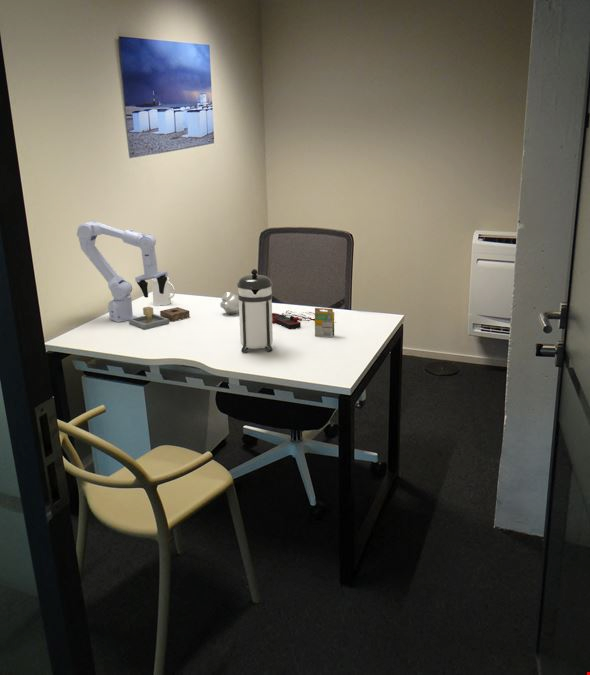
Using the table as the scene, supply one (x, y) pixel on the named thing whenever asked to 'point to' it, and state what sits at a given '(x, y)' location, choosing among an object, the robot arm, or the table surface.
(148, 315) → the pin
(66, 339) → the table surface
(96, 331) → the table surface
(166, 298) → the mug
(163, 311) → the block
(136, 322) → the tray
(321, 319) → the crayon box
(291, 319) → the digital clamp meter
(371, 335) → the table surface
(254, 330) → the coffee press
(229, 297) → the white piggy bank
